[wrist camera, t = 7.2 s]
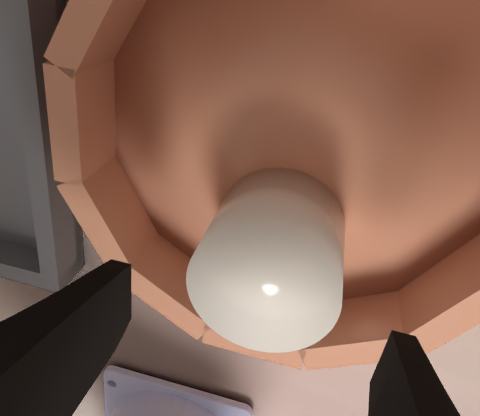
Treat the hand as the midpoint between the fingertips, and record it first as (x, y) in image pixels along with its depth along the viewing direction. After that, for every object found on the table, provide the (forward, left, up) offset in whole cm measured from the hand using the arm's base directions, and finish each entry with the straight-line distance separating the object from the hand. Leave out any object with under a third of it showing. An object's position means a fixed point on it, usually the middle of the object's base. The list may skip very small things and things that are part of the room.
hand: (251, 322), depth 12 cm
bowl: (+3, 0, -6) cm, 6 cm away
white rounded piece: (0, 0, -5) cm, 5 cm away
